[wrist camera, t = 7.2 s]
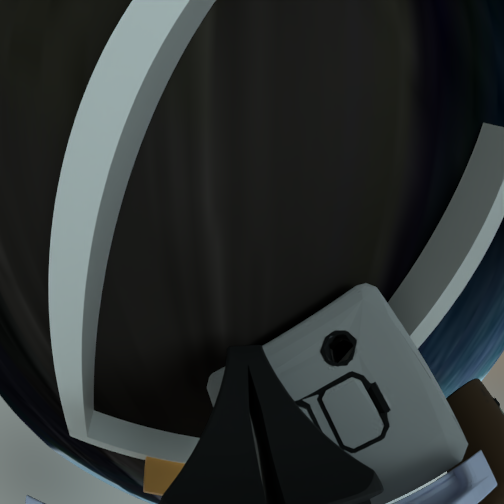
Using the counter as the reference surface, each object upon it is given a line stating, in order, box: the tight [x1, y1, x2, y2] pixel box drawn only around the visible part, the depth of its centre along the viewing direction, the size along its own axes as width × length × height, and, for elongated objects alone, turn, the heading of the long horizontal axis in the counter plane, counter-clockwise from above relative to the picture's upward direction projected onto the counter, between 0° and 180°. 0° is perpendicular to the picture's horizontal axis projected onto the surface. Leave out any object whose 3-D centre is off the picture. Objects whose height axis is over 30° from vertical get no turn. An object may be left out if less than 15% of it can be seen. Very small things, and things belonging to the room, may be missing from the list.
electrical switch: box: [207, 283, 468, 504], centre depth 10 cm, size 9×5×9 cm, turn 127°
